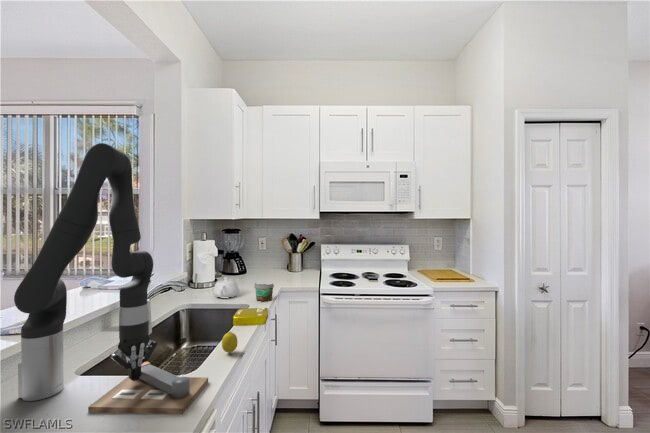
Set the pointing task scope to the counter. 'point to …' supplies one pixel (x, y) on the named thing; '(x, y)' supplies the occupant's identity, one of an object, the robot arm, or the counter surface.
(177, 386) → the swing arm
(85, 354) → the counter surface
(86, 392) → the counter surface
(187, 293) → the counter surface
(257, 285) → the food container
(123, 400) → the label board
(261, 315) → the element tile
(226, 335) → the lemon
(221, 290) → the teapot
